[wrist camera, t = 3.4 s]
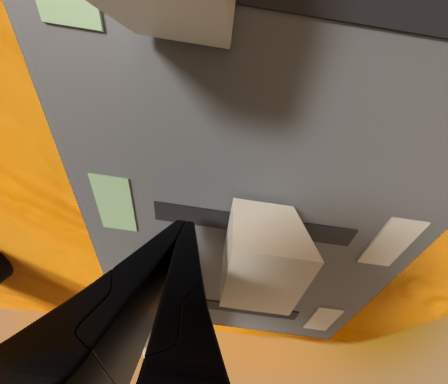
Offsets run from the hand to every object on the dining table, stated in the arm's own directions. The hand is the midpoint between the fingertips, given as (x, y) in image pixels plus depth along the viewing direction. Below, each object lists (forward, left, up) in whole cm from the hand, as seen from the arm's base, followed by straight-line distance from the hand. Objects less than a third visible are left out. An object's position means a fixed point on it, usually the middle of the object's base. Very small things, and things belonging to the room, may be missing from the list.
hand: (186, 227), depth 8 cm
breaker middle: (-4, 0, -1) cm, 4 cm away
